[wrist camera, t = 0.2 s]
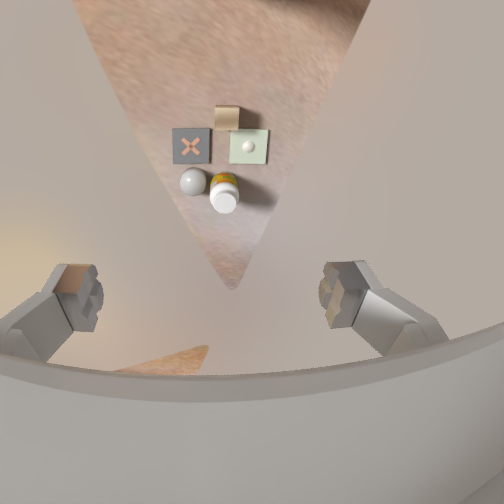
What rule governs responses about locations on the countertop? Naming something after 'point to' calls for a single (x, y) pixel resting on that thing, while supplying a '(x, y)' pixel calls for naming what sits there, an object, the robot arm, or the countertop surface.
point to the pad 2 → (248, 146)
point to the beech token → (226, 117)
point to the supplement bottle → (224, 192)
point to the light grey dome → (193, 181)
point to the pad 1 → (190, 145)
